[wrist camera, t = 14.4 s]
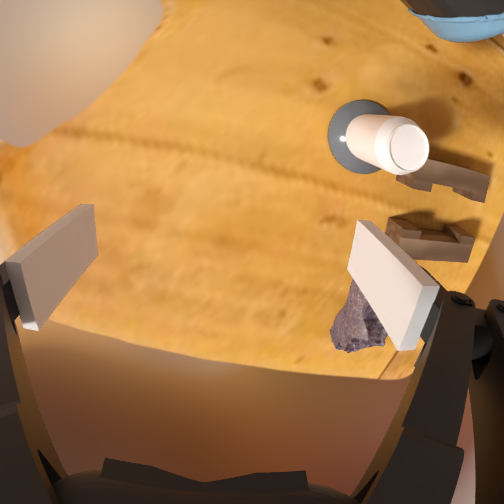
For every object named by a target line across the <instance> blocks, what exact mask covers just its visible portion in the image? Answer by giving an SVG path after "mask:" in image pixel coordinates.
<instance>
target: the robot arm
mask: <svg viewBox="0 0 504 504" xmlns="http://www.w3.org/2000/svg"><path fill="white" fill-rule="evenodd" d="M401 1H402V2H403V3H404V4H405V5H406V6H407V7H408V10H409V11H410V12H411V14H413V15H414V16H416V17H418V18H419V19H420V20H421V21H422V22H423V23H424V24H425V25H426V26H427V27H428V28H429V29H430V30H431V31H432V32H433V33H434V34H435V35H436V36H438V37H439V38H441V39H444V40H448V41H451V42H457V43H467V42H475V41H480V40H485V39H488V38H492V37H495V36H498V35H500V34H503V33H504V0H401ZM97 256H98V247H97V238H96V227H95V215H94V204H80V205H79V206H77V207H76V208H74V209H73V210H72V211H70V212H69V213H67V214H66V215H64V216H63V217H62V218H60V219H59V220H57V221H56V222H55V223H53V224H52V225H51V226H49V227H48V228H46V229H45V230H44V231H42V232H41V233H40V234H38V235H37V236H36V237H35V238H33V239H32V240H31V241H29V242H28V243H27V244H26V245H24V246H23V247H22V248H20V249H19V250H18V251H17V252H15V253H14V254H13V255H12V256H11V257H9V258H8V259H7V260H6V261H5V262H4V263H2V264H1V265H0V504H450V503H451V501H452V497H453V494H454V491H455V488H456V485H457V481H458V477H459V474H460V470H461V467H462V463H463V458H464V451H463V449H462V448H459V447H457V446H456V444H457V440H458V436H459V432H460V427H461V423H462V418H463V413H464V408H465V402H466V397H467V390H468V387H469V394H470V402H471V410H472V419H473V431H474V443H475V444H474V445H475V470H476V493H475V504H504V301H501V300H496V299H493V300H491V301H490V302H489V305H488V307H487V309H486V310H482V309H477V308H475V303H474V301H473V300H472V299H471V298H469V297H468V296H467V295H465V294H463V293H460V292H456V291H447V290H446V289H445V288H444V287H443V286H442V285H441V284H440V283H439V282H438V281H436V279H435V278H434V277H433V276H431V274H430V273H429V272H428V271H427V270H425V269H424V268H423V267H421V266H419V265H418V264H417V263H416V262H415V261H414V260H413V259H412V258H411V257H410V256H409V255H408V254H407V253H406V252H404V251H403V250H402V249H401V248H400V247H399V246H398V245H397V244H396V243H395V242H394V241H393V240H392V239H390V238H389V237H388V236H387V235H386V234H385V233H384V232H383V231H382V230H380V229H379V228H378V227H377V226H376V225H375V224H374V223H373V222H371V221H364V220H357V225H356V230H355V235H354V240H353V245H352V250H351V254H350V259H349V263H348V268H347V270H348V271H349V273H350V274H351V276H352V277H353V279H354V281H355V282H356V284H357V285H358V287H359V288H360V290H361V291H362V293H363V295H364V296H365V298H366V299H367V301H368V302H369V304H370V306H371V307H372V309H373V310H374V312H375V314H376V315H377V317H378V319H379V320H380V322H381V323H382V325H383V327H384V328H385V330H386V332H387V333H388V335H389V337H390V338H391V340H392V342H393V343H394V345H395V347H396V348H397V350H398V351H404V350H415V347H416V345H417V343H418V340H419V338H420V336H421V338H422V339H423V341H424V342H425V344H424V346H423V348H422V350H421V352H420V355H419V357H418V359H417V361H416V363H415V365H414V366H415V369H414V372H413V374H412V377H411V379H410V382H409V384H408V387H407V389H406V391H405V394H404V396H403V398H402V401H401V403H400V405H399V407H398V410H397V412H396V414H395V416H394V418H393V420H392V422H391V425H390V427H389V429H388V431H387V433H386V435H385V437H384V439H383V441H382V443H381V445H380V447H379V448H378V450H377V452H376V454H375V456H374V458H373V459H372V461H371V463H370V465H369V467H368V468H367V470H366V472H365V474H364V475H363V477H362V479H361V480H360V482H359V484H358V485H357V487H356V488H355V490H354V491H353V492H352V494H351V495H350V496H348V495H347V494H345V493H342V492H340V491H338V490H335V489H332V488H329V487H326V486H322V485H318V484H314V483H308V482H307V476H306V471H293V472H271V473H253V474H249V475H244V476H239V477H234V478H229V479H223V480H217V481H211V482H199V481H195V480H191V479H188V478H185V477H182V476H178V475H176V474H173V473H170V472H167V471H164V470H161V469H159V468H156V467H153V466H148V465H141V464H136V463H130V462H124V461H119V460H114V459H109V458H105V460H104V464H103V468H102V470H91V471H84V472H80V473H76V474H73V475H70V476H68V474H67V473H66V471H65V469H64V467H63V465H62V463H61V461H60V459H59V457H58V454H57V452H56V450H55V448H54V445H53V443H52V440H51V438H50V436H49V433H48V431H47V428H46V425H45V423H44V420H43V417H42V415H41V412H40V409H39V406H38V403H37V401H36V398H35V394H34V391H33V388H32V385H31V382H30V378H29V375H28V371H27V368H26V364H25V360H24V356H23V352H22V348H21V344H20V340H19V335H18V330H17V327H16V324H15V321H14V320H15V319H16V318H17V317H18V316H19V315H20V318H21V321H22V324H23V327H24V328H27V329H32V330H37V331H39V330H40V329H41V327H42V326H43V325H44V323H45V322H46V321H47V319H48V318H49V317H50V315H51V314H52V313H53V311H54V310H55V309H56V307H57V306H58V305H59V303H60V302H61V301H62V299H63V298H64V297H65V295H66V294H67V293H68V292H69V290H70V289H71V288H72V287H73V285H74V284H75V283H76V282H77V280H78V279H79V278H80V277H81V275H82V274H83V273H84V272H85V271H86V269H87V268H88V267H89V266H90V264H91V263H92V262H93V261H94V260H95V259H96V257H97Z"/></svg>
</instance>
